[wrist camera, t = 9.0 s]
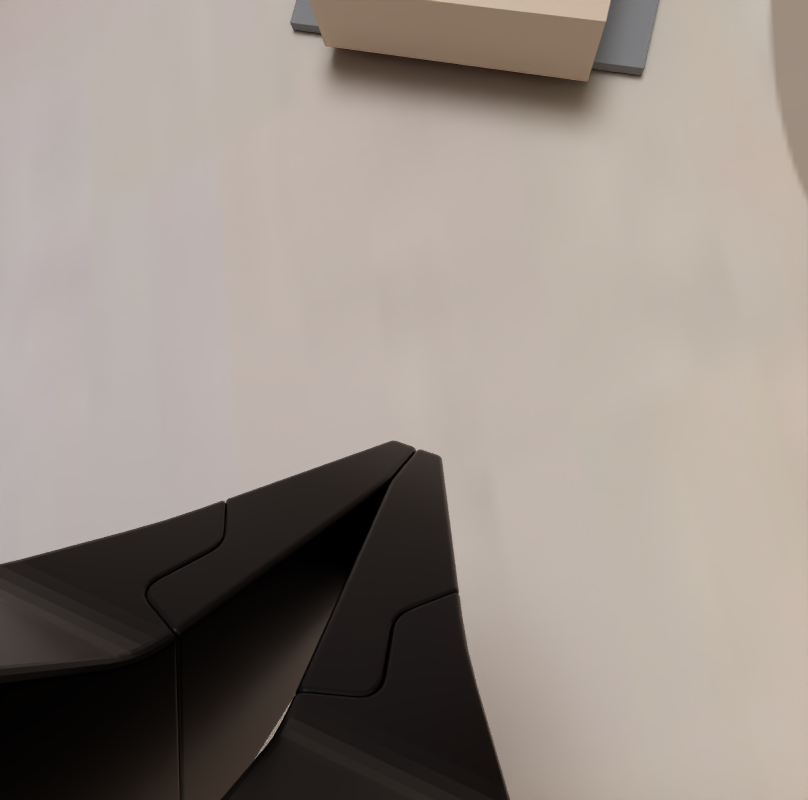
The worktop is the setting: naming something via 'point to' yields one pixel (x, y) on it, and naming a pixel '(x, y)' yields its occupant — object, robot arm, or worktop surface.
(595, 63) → the slate mat
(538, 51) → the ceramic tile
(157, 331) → the worktop surface
